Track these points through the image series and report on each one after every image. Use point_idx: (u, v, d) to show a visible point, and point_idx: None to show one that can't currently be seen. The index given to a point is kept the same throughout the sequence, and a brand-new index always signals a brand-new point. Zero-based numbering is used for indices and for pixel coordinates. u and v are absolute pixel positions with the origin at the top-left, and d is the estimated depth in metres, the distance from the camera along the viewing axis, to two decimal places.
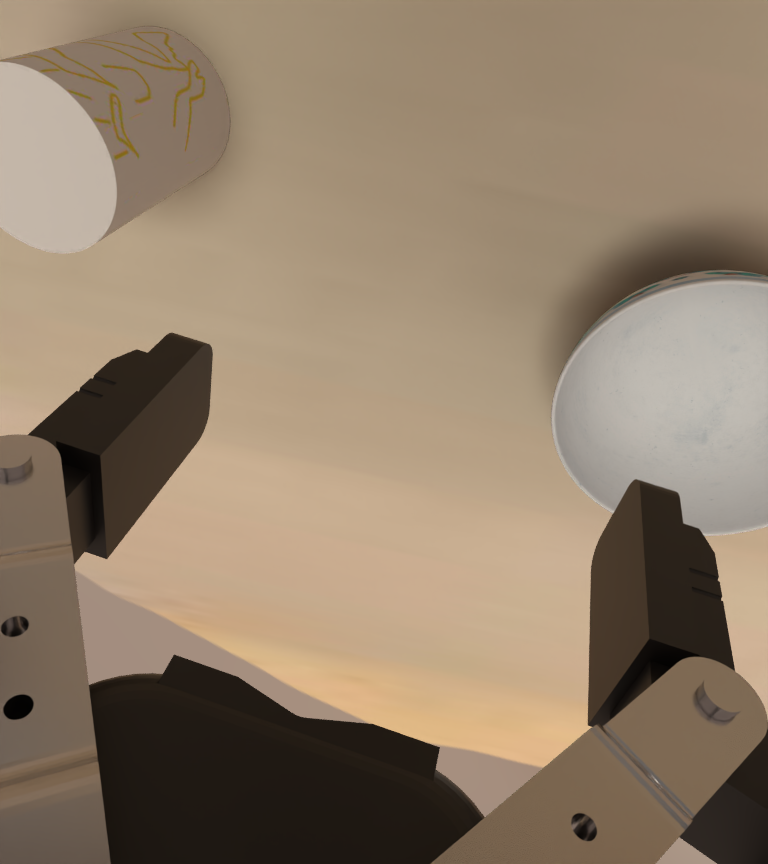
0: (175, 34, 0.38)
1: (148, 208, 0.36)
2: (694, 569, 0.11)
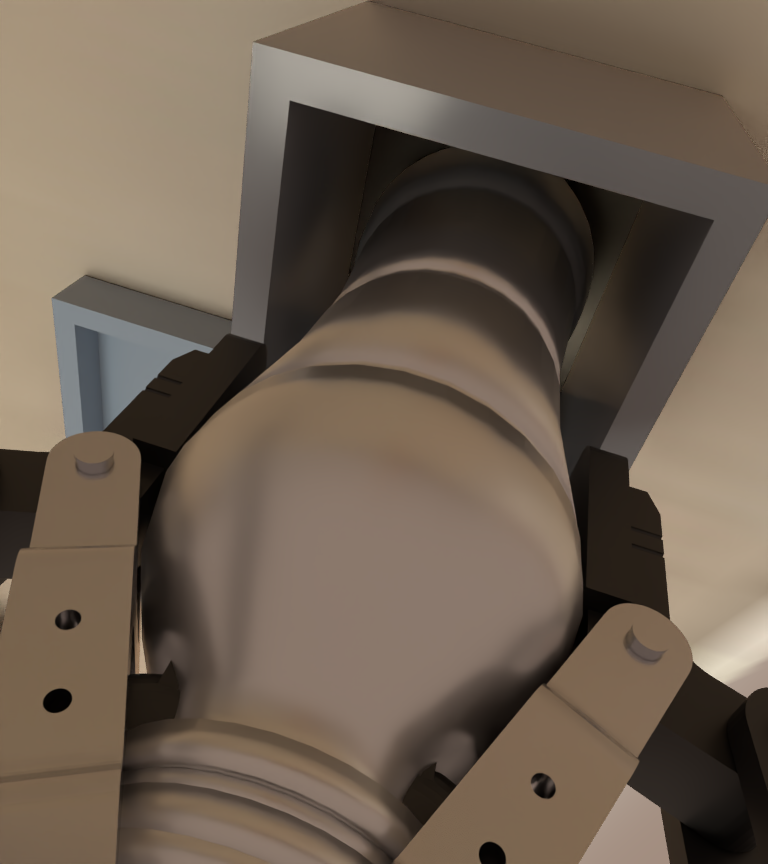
0: None
1: None
2: (639, 528, 0.12)
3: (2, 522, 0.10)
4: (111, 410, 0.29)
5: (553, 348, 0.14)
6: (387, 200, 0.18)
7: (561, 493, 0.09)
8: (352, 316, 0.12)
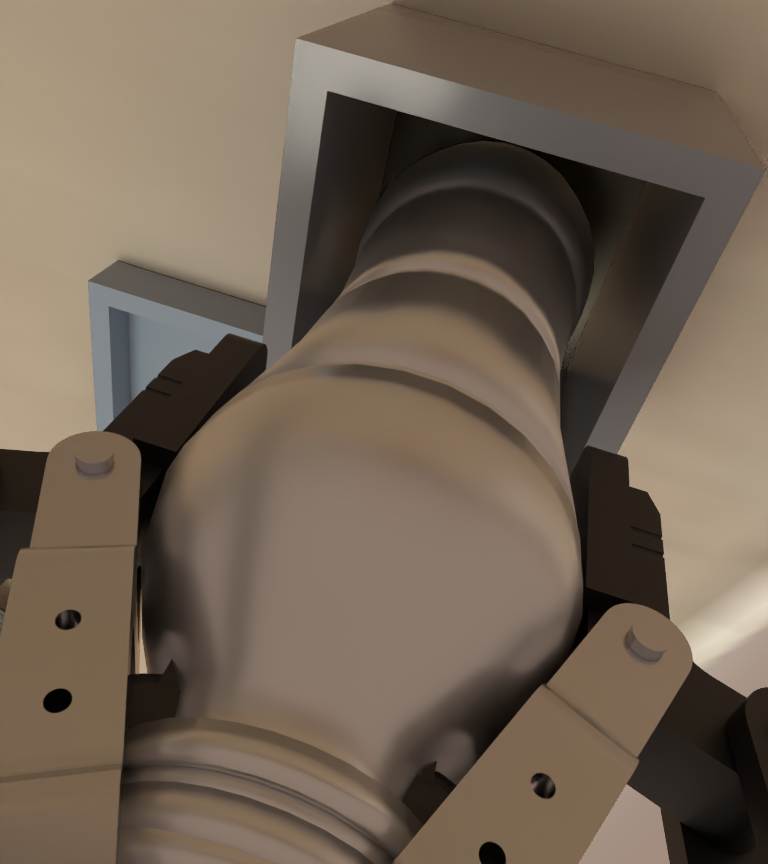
0: None
1: None
2: (639, 528, 0.12)
3: (2, 522, 0.10)
4: (138, 390, 0.31)
5: (553, 348, 0.14)
6: (387, 200, 0.18)
7: (561, 493, 0.09)
8: (352, 316, 0.12)
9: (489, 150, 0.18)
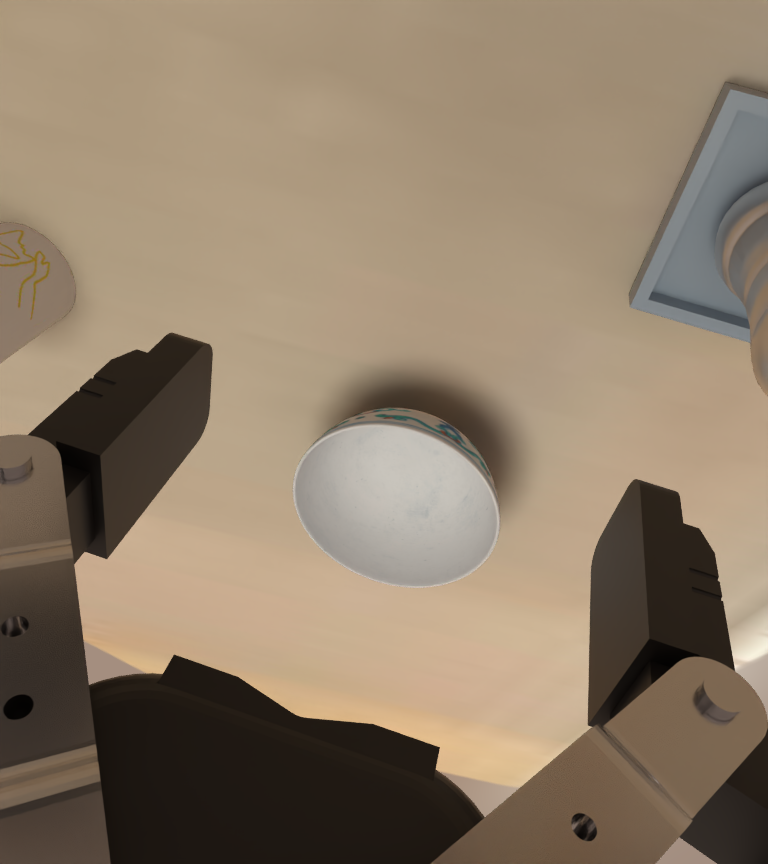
0: (29, 230, 0.54)
1: (5, 359, 0.52)
2: (694, 569, 0.11)
3: None
4: (700, 193, 0.41)
5: None
6: (755, 208, 0.37)
7: None
8: None
9: None
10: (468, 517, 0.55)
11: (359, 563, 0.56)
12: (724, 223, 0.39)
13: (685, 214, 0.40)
